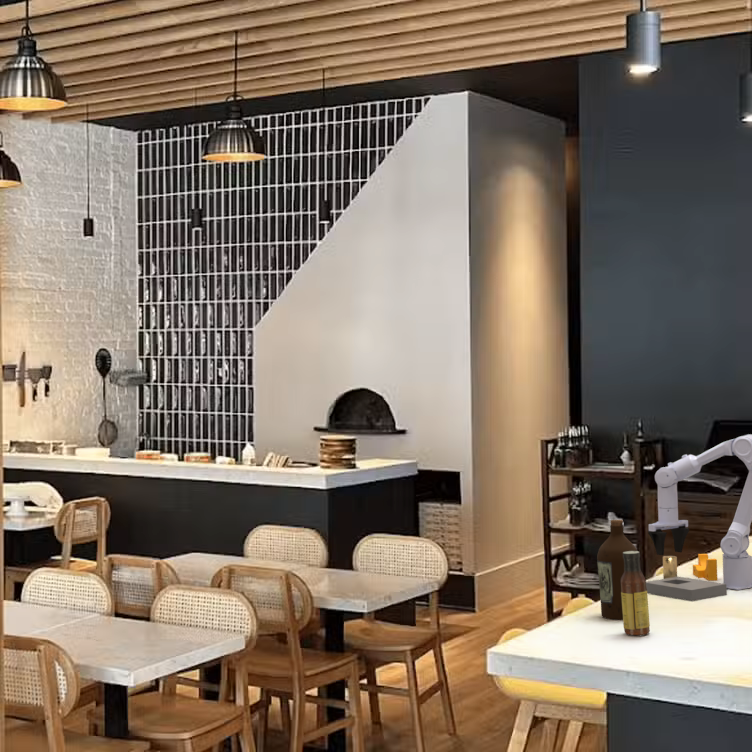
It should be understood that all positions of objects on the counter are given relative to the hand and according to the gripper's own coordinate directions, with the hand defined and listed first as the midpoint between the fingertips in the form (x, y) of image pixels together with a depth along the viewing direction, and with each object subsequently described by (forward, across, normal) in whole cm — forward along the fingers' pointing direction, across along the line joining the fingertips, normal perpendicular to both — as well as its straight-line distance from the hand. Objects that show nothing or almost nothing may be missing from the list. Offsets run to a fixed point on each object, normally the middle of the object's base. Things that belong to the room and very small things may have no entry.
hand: (669, 553), depth 369 cm
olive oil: (+9, +45, +25) cm, 52 cm away
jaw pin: (+9, 0, 0) cm, 9 cm away
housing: (+9, +9, +14) cm, 19 cm away
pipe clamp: (+9, -15, -1) cm, 18 cm away
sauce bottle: (+9, +57, +43) cm, 72 cm away
